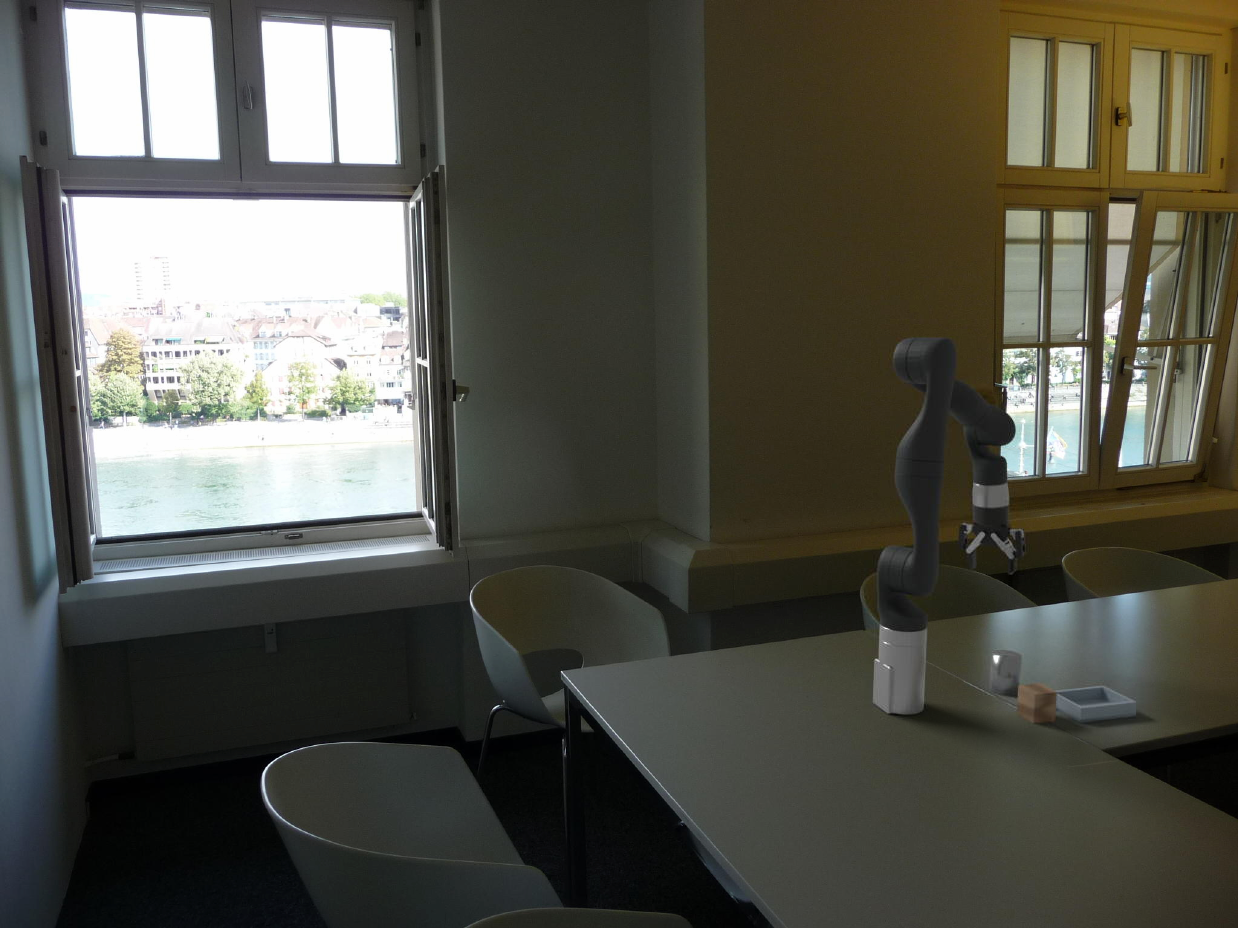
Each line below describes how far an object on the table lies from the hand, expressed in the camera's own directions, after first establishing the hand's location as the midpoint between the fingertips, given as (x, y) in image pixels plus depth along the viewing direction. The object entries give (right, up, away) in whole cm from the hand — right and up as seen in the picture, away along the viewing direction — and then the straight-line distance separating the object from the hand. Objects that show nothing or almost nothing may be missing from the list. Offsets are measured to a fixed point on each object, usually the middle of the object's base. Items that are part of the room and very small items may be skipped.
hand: (992, 570), depth 215 cm
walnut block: (-1, -26, -26) cm, 37 cm away
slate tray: (+11, -26, -23) cm, 36 cm away
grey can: (-2, -24, -12) cm, 27 cm away
